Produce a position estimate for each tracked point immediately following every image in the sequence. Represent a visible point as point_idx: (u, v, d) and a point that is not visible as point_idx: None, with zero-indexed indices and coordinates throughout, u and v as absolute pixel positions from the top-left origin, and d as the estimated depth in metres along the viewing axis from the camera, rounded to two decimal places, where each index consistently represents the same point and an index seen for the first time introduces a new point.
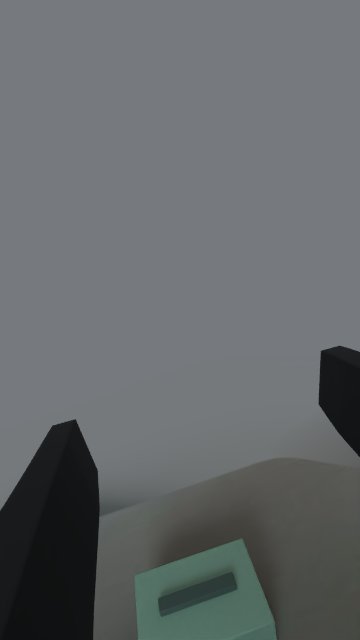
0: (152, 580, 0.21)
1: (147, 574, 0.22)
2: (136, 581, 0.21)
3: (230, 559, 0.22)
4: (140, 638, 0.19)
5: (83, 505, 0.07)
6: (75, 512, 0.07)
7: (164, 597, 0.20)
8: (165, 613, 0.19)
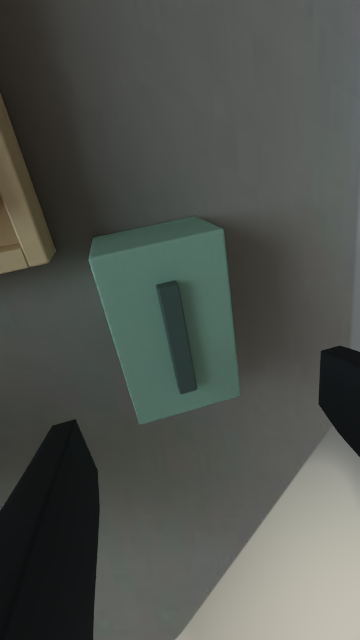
0: (209, 265, 0.12)
1: (219, 254, 0.12)
2: (212, 235, 0.11)
3: (216, 381, 0.14)
4: (130, 253, 0.11)
5: (83, 505, 0.07)
6: (75, 512, 0.07)
7: (177, 295, 0.12)
8: (158, 294, 0.12)
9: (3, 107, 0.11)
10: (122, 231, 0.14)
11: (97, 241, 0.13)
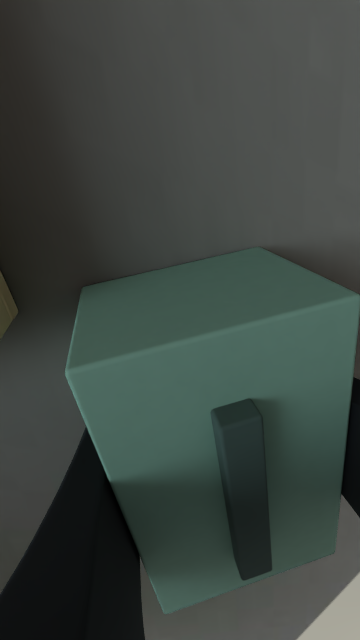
0: (320, 365, 0.06)
1: (344, 344, 0.06)
2: (336, 309, 0.05)
3: (299, 541, 0.08)
4: (160, 356, 0.05)
5: None
6: None
7: (259, 437, 0.05)
8: (215, 432, 0.06)
9: None
10: (134, 275, 0.08)
11: (89, 301, 0.07)
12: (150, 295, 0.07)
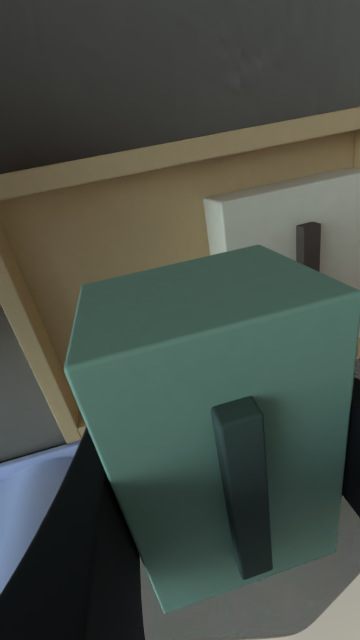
0: (321, 363, 0.06)
1: (345, 342, 0.06)
2: (338, 306, 0.05)
3: (300, 540, 0.08)
4: (160, 353, 0.05)
5: None
6: None
7: (259, 434, 0.05)
8: (216, 429, 0.05)
9: None
10: (134, 273, 0.08)
11: (88, 299, 0.07)
12: (150, 292, 0.07)
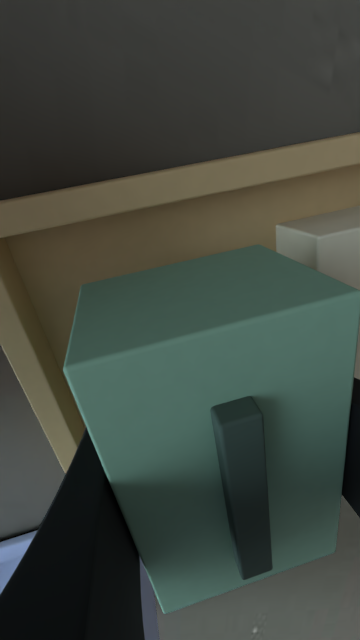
0: (321, 362, 0.06)
1: (345, 341, 0.06)
2: (338, 306, 0.05)
3: (300, 540, 0.08)
4: (159, 353, 0.05)
5: None
6: None
7: (259, 434, 0.05)
8: (215, 429, 0.05)
9: None
10: (133, 273, 0.08)
11: (88, 298, 0.07)
12: (149, 292, 0.07)
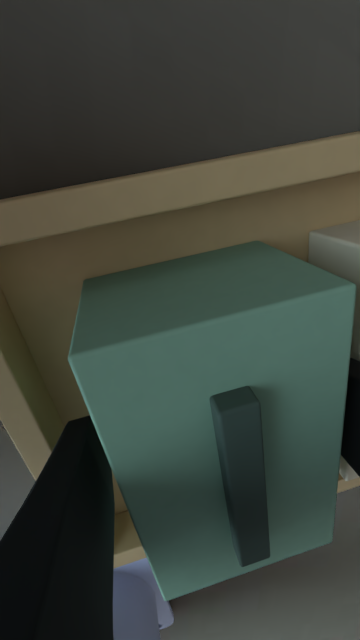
0: (317, 353, 0.06)
1: (340, 333, 0.06)
2: (333, 298, 0.05)
3: (297, 529, 0.08)
4: (160, 342, 0.05)
5: (100, 500, 0.07)
6: (94, 506, 0.07)
7: (256, 422, 0.06)
8: (214, 418, 0.06)
9: None
10: (135, 268, 0.08)
11: (90, 292, 0.07)
12: (150, 286, 0.07)
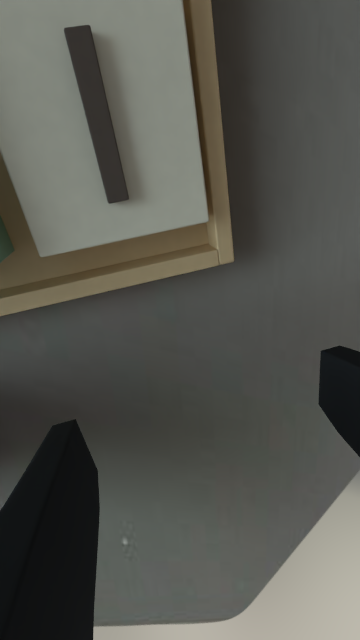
0: None
1: None
2: None
3: None
4: None
5: (83, 505, 0.07)
6: (75, 512, 0.07)
7: None
8: None
9: None
10: None
11: None
12: None
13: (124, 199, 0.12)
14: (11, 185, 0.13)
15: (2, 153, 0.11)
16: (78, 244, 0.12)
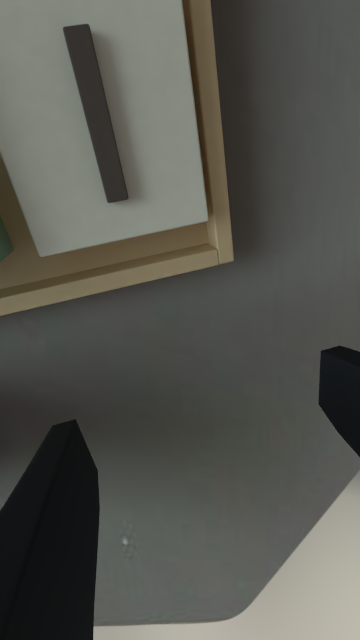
0: None
1: None
2: None
3: None
4: None
5: (83, 505, 0.07)
6: (75, 512, 0.07)
7: None
8: None
9: None
10: None
11: None
12: None
13: (123, 198, 0.12)
14: (10, 185, 0.13)
15: (1, 152, 0.11)
16: (77, 244, 0.12)
